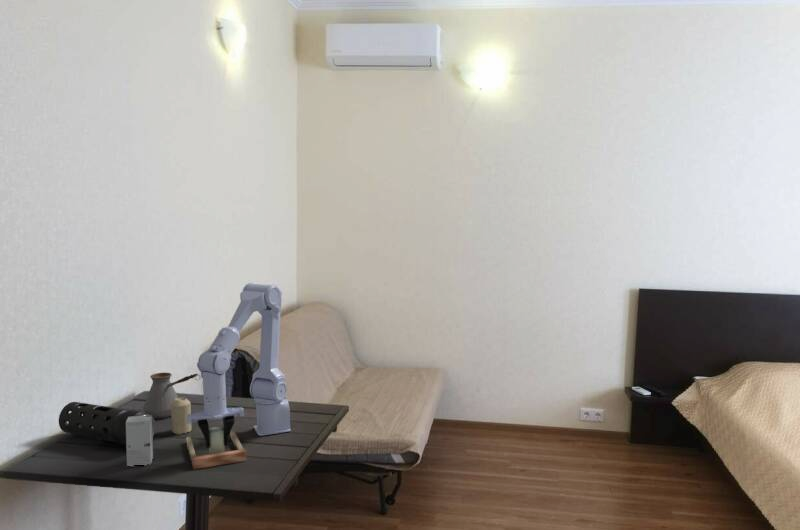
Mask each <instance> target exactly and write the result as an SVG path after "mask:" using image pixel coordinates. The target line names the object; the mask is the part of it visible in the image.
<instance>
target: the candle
mask: <svg viewBox="0 0 800 530" xmlns="http://www.w3.org/2000/svg"><path fill="white" fill-rule="evenodd" d="M191 406H192V404H191V401H190V400H188V399H187V398H186V397H178V399H177V398H176V399H175V400H174V401H173V402H172V403H171V416H170V418H171V431H172V432H173V433H176V434H175V435H183V434H182V433H186V434H188V433H187V432H189V433H191V432H192V429H193V428H192V423H191V424H188V423H187V415H188V414H192V410H191V409H192V408H191ZM190 431H191V432H190ZM172 432H171V433H172ZM173 433H172V434H173Z"/></svg>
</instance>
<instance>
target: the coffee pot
mask: <svg viewBox="0 0 800 530" xmlns="http://www.w3.org/2000/svg"><path fill="white" fill-rule="evenodd" d="M172 376H173V375H172V373H171V372H159V373H158V372H157V373H153V374H151V375H150V379H151V380H152V383H151V386H150V389H149V391H148V394H147V396H146V399H145V401H144V405H143V411H144V412H146V413H148V414H149V415H151V416H152V417H153V418H154V419H164V418H169V417H170V418H171V403H172V402H173V401H174V400H175V399H176V398H177V399H178V398H179V396H178V394H177V392H176V390H175V388H174V385H177V384H181V383H184V382H187V381H189V380H190V379H194V380H195V381H198V380H201V374H198V373H194V374H190V375H188V376H184V377H182V378H181V379H178V380H175V381H173V382H171V377H172ZM197 376H198V377H199V378H198V379H197V378H196V377H197Z"/></svg>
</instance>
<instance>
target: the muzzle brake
mask: <svg viewBox="0 0 800 530" xmlns="http://www.w3.org/2000/svg"><path fill="white" fill-rule="evenodd" d="M133 416H150V415H149V414H148V413H146V412H145V411H144V410H138V409H130V410H129V409H125V408H118V407H111V406H106V405H105V406H104V405H98V404H92V403H86V402H80V401H79V402H78V401H71V402H68V403H67V404H65V405H64V407H63V408H62V409H61V411H60V413H59V415H58V426H59V428H60V430H61V431H62V432H64V433H67V434H71V436H73V437H78V438H84V439H89V440H99V441H101V442H103V441H110V442H116V443H117V445H119V446H123V445H124V447H126V421H127V419H128V417H133ZM156 427H157V424H156V421H155V418H153V417H152V438H153V437H154V435H155V433H156Z"/></svg>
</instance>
